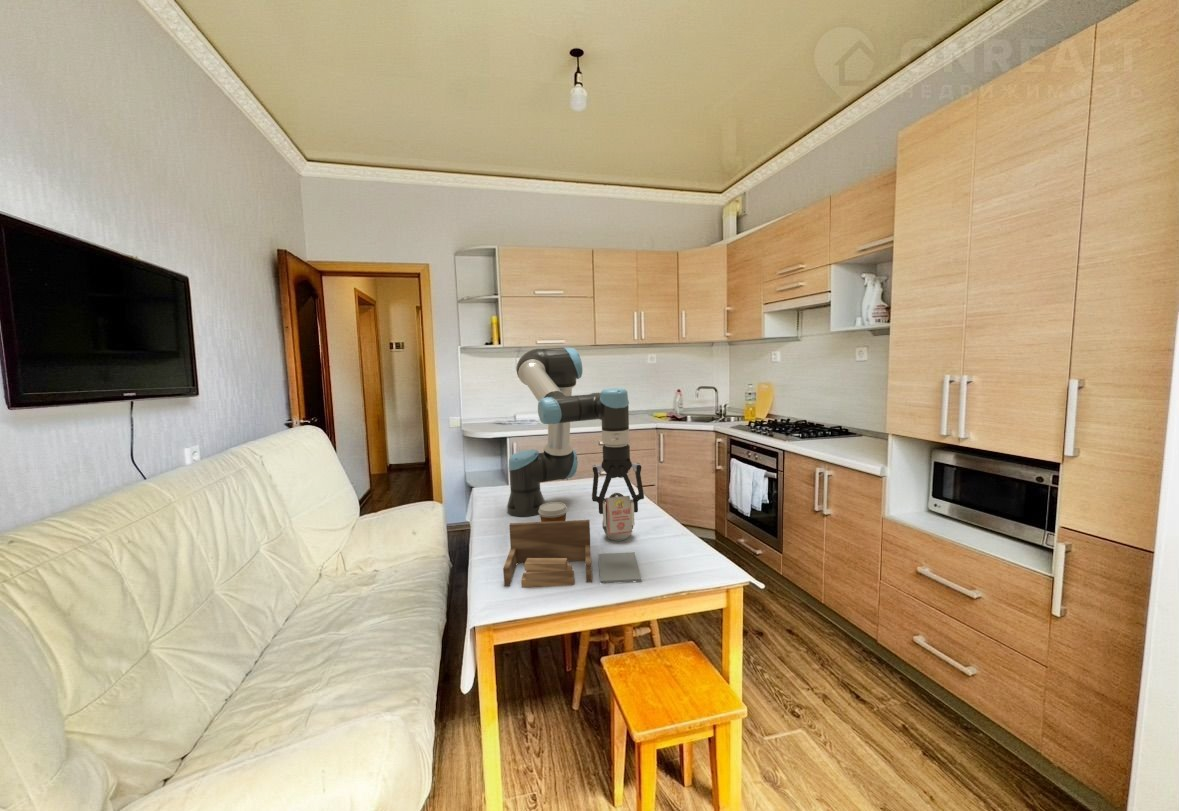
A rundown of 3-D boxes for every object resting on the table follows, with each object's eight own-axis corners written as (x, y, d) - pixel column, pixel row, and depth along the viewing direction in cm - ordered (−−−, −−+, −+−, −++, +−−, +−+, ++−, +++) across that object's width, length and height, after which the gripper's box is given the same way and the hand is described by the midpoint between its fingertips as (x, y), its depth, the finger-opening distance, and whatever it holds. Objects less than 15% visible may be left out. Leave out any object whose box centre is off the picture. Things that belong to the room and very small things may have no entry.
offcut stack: (523, 578, 123) (522, 558, 122) (574, 576, 123) (573, 555, 122) (521, 588, 118) (520, 566, 117) (574, 585, 118) (573, 564, 117)
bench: (512, 561, 133) (510, 523, 132) (590, 558, 134) (589, 519, 132) (504, 586, 120) (501, 543, 118) (591, 582, 120) (590, 539, 118)
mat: (598, 556, 135) (598, 553, 135) (634, 554, 135) (634, 552, 135) (600, 583, 119) (600, 580, 119) (641, 581, 119) (641, 578, 119)
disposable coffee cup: (564, 548, 141) (563, 512, 139) (536, 547, 143) (534, 511, 141) (572, 536, 150) (570, 501, 149) (544, 535, 152) (543, 501, 151)
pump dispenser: (596, 536, 150) (594, 492, 148) (622, 528, 155) (621, 486, 153) (613, 546, 141) (611, 500, 139) (639, 539, 146) (638, 494, 144)
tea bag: (606, 529, 128) (604, 495, 126) (628, 527, 129) (627, 493, 128) (608, 534, 124) (607, 500, 123) (632, 532, 125) (631, 497, 124)
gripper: (579, 448, 120) (583, 530, 122) (654, 445, 120) (656, 527, 123) (579, 443, 127) (583, 520, 130) (650, 440, 127) (652, 517, 130)
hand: (618, 523), depth 126 cm, fingers closed on tea bag, 7 cm apart
